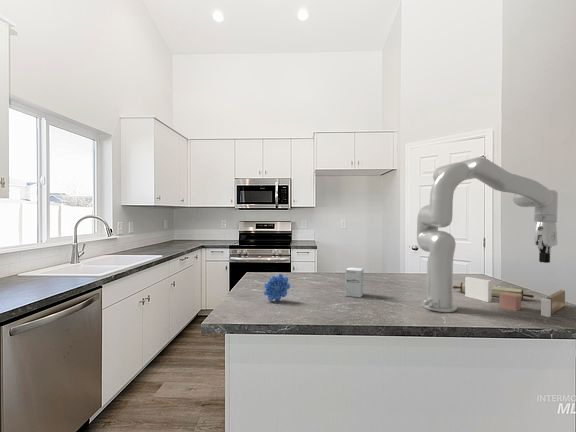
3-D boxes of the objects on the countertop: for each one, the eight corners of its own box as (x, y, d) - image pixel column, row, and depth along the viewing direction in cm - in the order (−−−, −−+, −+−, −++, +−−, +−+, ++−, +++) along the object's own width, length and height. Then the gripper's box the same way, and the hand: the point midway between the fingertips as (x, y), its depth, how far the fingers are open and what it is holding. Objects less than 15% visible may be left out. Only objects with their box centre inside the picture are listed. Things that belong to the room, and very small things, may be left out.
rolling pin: (533, 300, 142) (533, 289, 142) (534, 303, 137) (534, 292, 137) (453, 290, 160) (453, 280, 160) (451, 292, 156) (451, 282, 156)
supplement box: (345, 296, 148) (345, 269, 148) (348, 292, 155) (348, 266, 154) (361, 298, 145) (361, 270, 145) (363, 294, 152) (363, 267, 152)
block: (515, 311, 126) (515, 297, 126) (499, 307, 132) (499, 293, 131) (520, 309, 129) (521, 295, 129) (504, 305, 134) (504, 292, 134)
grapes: (289, 298, 144) (289, 271, 144) (290, 302, 137) (290, 274, 137) (263, 298, 143) (263, 272, 143) (263, 302, 136) (263, 275, 136)
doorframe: (548, 317, 119) (548, 293, 118) (462, 297, 147) (462, 277, 146) (554, 314, 121) (554, 291, 121) (468, 295, 149) (468, 276, 149)
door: (545, 314, 122) (545, 297, 122) (560, 305, 134) (560, 289, 134) (550, 315, 120) (550, 298, 120) (565, 306, 133) (565, 290, 133)
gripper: (549, 219, 127) (548, 264, 127) (563, 219, 135) (562, 262, 135) (527, 218, 133) (526, 262, 133) (542, 219, 141) (541, 260, 141)
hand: (544, 262), depth 134 cm, fingers closed
